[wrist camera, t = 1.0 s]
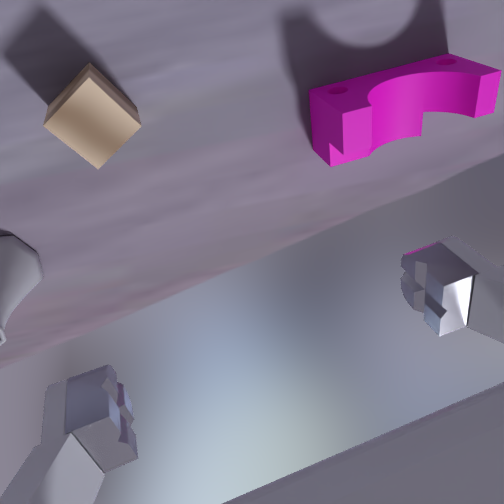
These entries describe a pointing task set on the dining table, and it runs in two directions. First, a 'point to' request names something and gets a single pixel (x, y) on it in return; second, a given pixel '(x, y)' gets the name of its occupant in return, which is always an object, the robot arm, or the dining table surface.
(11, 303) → the flask
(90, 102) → the beech block
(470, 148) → the dining table surface
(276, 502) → the robot arm
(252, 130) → the dining table surface
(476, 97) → the toy block
